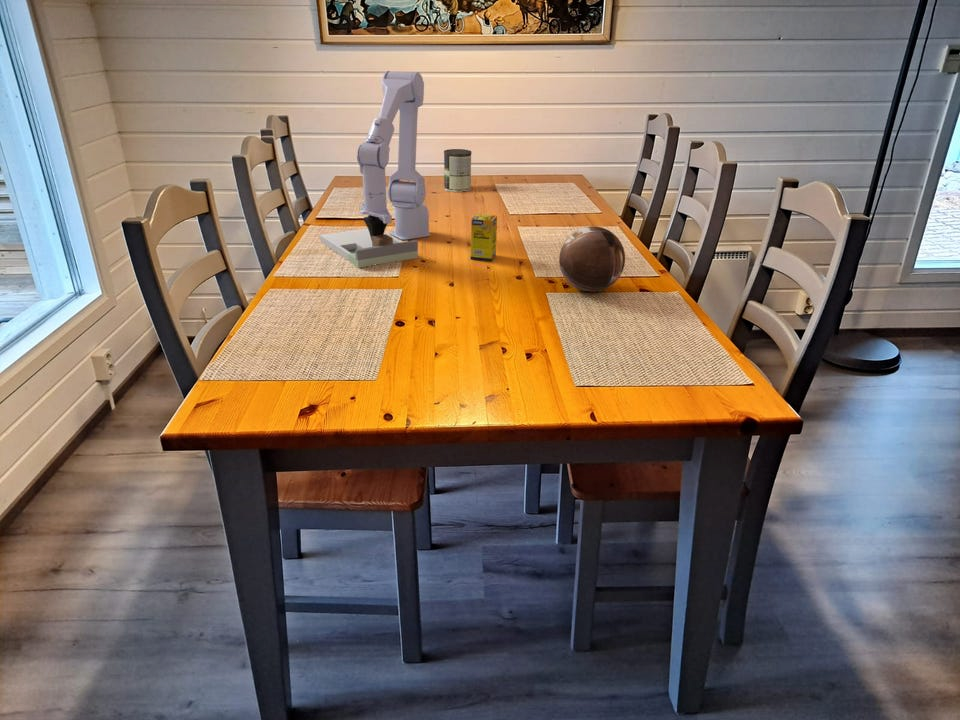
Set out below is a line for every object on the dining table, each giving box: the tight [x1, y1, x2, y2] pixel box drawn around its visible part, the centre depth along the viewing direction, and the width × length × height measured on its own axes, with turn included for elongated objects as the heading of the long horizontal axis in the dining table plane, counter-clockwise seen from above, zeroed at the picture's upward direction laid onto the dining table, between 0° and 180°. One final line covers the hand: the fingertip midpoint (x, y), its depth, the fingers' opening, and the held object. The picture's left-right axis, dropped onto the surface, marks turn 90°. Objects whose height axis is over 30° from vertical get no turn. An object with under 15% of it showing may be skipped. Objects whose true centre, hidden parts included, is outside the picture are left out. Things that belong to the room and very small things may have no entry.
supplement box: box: [470, 213, 498, 262], centre depth 173 cm, size 6×6×11 cm
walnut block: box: [372, 233, 393, 247], centre depth 170 cm, size 4×4×4 cm
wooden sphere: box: [558, 226, 626, 292], centre depth 152 cm, size 15×15×15 cm
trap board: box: [319, 227, 419, 269], centre depth 178 cm, size 17×26×4 cm, turn 33°
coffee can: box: [443, 148, 472, 193], centre depth 247 cm, size 10×10×14 cm
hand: (377, 244), depth 173 cm, fingers closed
